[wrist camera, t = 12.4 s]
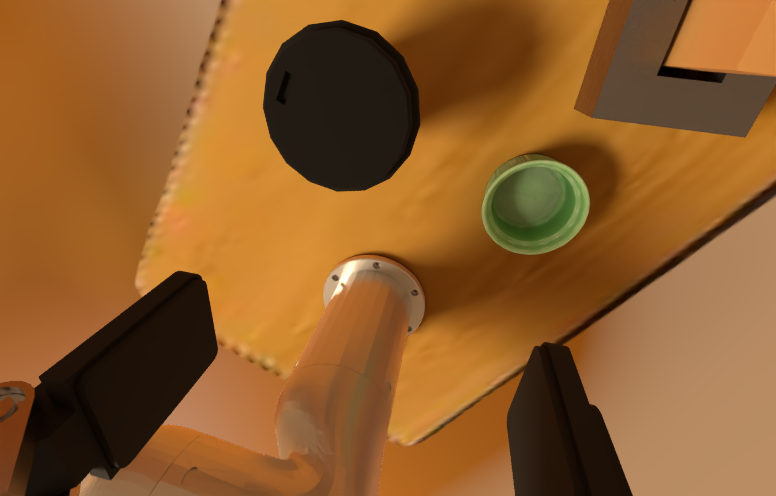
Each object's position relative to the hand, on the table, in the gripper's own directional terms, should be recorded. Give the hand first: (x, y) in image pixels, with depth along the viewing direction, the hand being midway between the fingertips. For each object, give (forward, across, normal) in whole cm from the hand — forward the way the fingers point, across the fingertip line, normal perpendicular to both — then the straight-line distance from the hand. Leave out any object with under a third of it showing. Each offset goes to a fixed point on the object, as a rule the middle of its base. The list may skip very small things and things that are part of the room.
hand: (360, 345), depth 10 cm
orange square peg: (+28, -17, -10) cm, 34 cm away
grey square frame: (+28, -17, -10) cm, 34 cm away
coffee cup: (+28, +6, -3) cm, 29 cm away
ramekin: (+29, -10, +4) cm, 31 cm away
